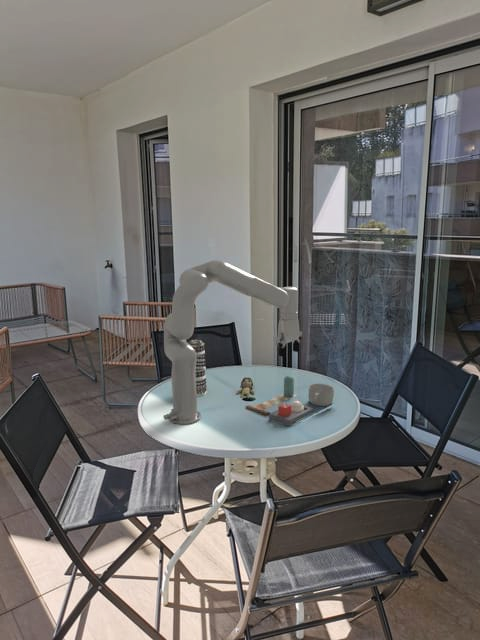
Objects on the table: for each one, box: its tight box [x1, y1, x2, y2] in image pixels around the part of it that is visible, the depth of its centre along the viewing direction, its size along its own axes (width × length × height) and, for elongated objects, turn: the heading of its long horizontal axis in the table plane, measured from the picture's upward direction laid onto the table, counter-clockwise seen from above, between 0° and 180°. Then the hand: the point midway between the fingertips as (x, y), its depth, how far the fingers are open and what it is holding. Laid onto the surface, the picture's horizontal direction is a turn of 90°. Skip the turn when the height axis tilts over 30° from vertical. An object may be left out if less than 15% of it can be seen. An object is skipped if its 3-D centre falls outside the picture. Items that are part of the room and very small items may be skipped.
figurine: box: [236, 377, 255, 399], centre depth 218 cm, size 8×6×15 cm
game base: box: [268, 403, 315, 427], centre depth 193 cm, size 16×10×6 cm, turn 136°
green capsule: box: [283, 375, 295, 398], centre depth 212 cm, size 4×4×9 cm
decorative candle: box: [187, 339, 208, 397], centre depth 219 cm, size 9×9×25 cm
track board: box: [245, 393, 298, 416], centre depth 207 cm, size 25×12×1 cm, turn 136°
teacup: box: [308, 383, 335, 407], centre depth 203 cm, size 14×11×8 cm
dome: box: [289, 400, 304, 413], centre depth 195 cm, size 6×6×5 cm
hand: (289, 353), depth 209 cm, fingers open, 9 cm apart
